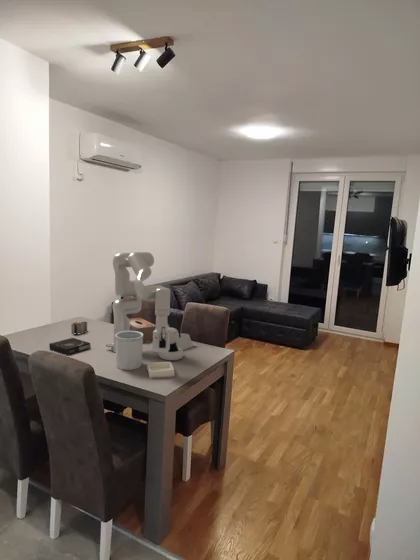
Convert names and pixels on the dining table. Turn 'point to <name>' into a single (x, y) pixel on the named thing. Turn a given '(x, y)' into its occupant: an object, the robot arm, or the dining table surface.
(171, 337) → the decorative figurine
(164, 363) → the tray
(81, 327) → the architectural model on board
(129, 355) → the utensil holder
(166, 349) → the small box
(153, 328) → the tissue box cover
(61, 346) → the flat black printed box
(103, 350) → the dining table surface
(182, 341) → the white and black block
